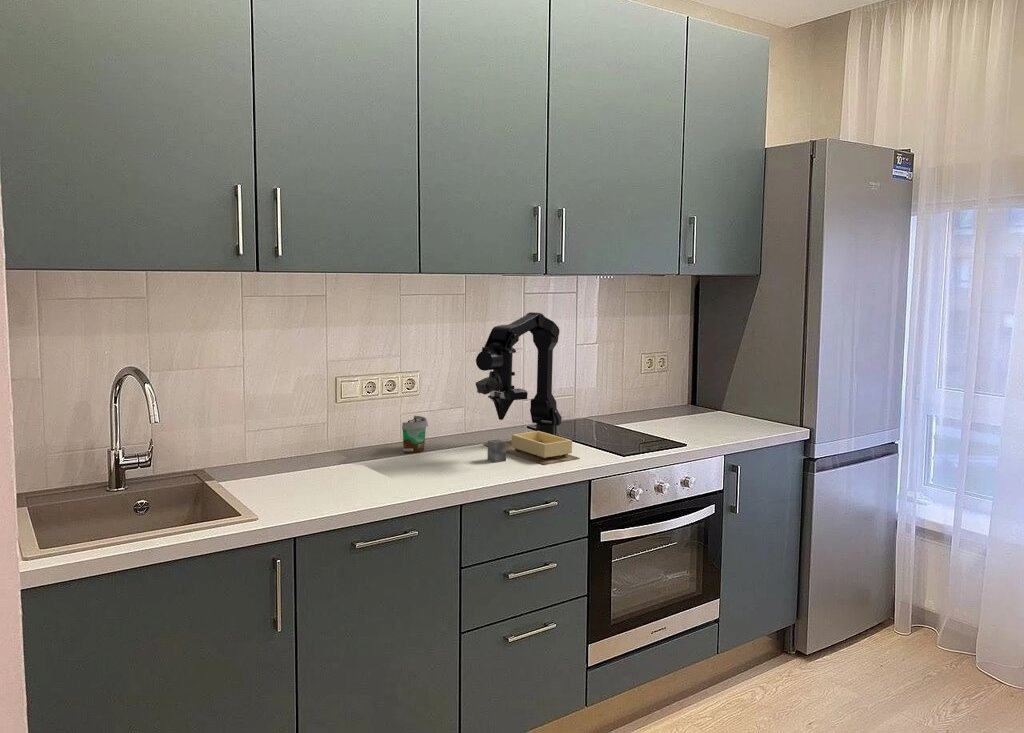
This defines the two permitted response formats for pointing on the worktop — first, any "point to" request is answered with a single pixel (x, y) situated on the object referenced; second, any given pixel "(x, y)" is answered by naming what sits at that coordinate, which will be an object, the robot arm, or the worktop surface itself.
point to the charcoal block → (496, 451)
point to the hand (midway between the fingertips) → (500, 419)
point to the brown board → (535, 457)
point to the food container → (414, 435)
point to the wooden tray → (541, 444)
